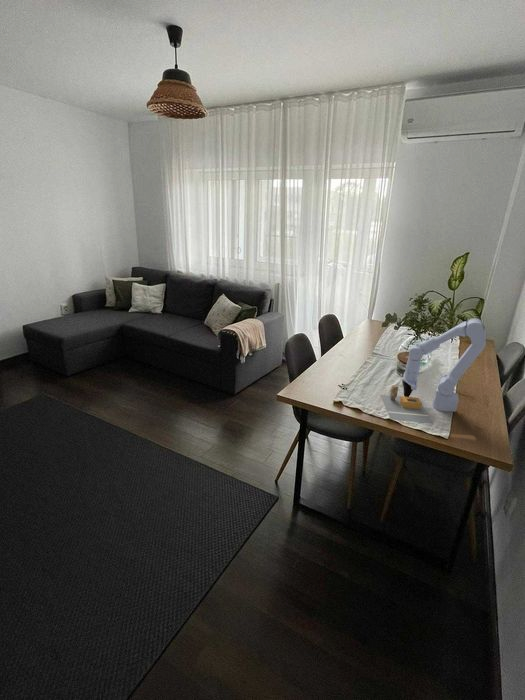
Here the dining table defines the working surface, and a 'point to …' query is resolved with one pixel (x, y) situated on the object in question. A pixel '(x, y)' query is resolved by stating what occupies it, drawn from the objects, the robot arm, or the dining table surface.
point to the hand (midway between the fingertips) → (406, 396)
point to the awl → (393, 392)
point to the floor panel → (404, 411)
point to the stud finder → (410, 402)
